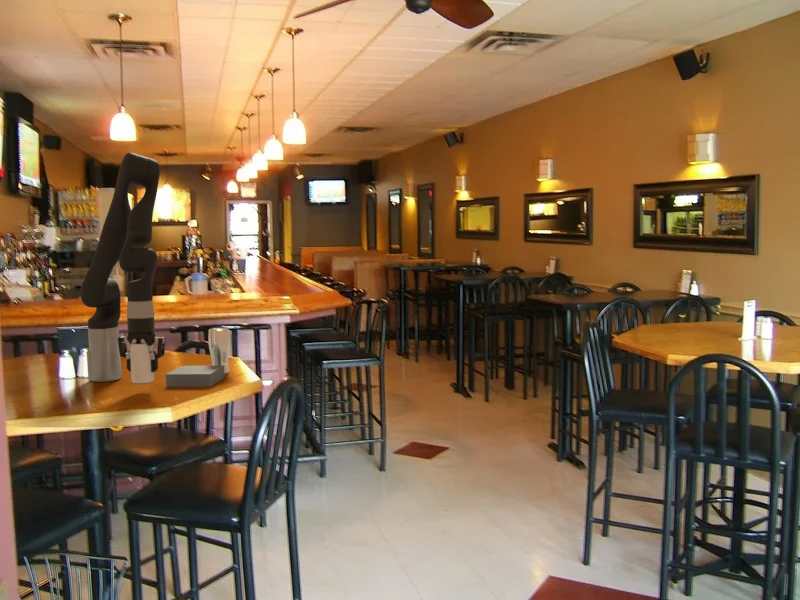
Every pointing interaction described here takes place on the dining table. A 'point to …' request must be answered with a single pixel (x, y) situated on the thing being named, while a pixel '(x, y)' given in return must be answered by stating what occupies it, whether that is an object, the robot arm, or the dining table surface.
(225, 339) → the beer glass
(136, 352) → the can
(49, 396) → the dining table surface
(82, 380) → the dining table surface
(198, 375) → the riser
